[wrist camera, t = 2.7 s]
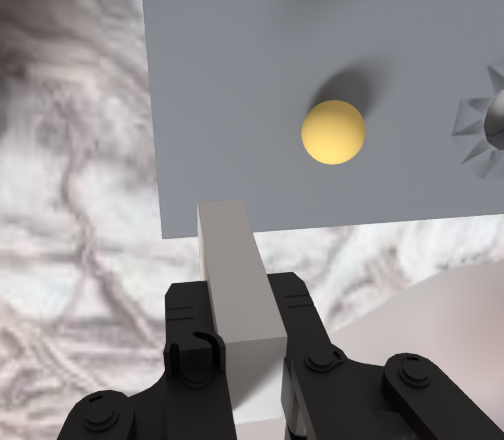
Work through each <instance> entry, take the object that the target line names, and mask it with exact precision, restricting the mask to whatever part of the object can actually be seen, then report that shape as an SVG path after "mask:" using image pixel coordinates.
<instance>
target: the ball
mask: <svg viewBox="0 0 504 440" xmlns="http://www.w3.org/2000/svg"><path fill="white" fill-rule="evenodd" d="M365 134H366V129H365V123H364V120H363V118H362V116H361V114H360V112H359V111H358V110H357V109H356V108H355V107H354V106H352V105H350V104H349V103H347V102H344V101H340V100H330V101H325V102H322V103H320V104H318V105H317V106H315V107H314V108H313V109H312V110H311V111H310V112H309V113H308V114H307V116H306V117H305V120H304V122H303V125H302V132H301V135H302V141H303V144H304V147H305V149H306V150H307V152H308V153H309V154H310V155H311V156H312V157H313V158H314V159H316V160H317V161H319V162H322V163H325V164H340V163H344V162H346V161H348V160H350V159H351V158H353V157H354V156H355V155H356V154H357V153H358V152H359V150H360V149H361V147H362V145H363V143H364V140H365Z"/></svg>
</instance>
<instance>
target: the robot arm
mask: <svg viewBox="0 0 504 440" xmlns="http://www.w3.org/2000/svg"><path fill="white" fill-rule="evenodd" d="M197 217H198V243H199V269H200V277H201V281H195V282H184V283H172V284H171V286H170V288H169V289H168V291H167V293H166V295H165V320H166V344H165V348H164V352H163V354H164V365H165V371H164V373H163V375H162V377H161V378H160V379H159V380H158V381H157V382H156V383H155V384H154V385H153V386H151V387H150V388H148V389H146V390H144V391H142V392H140V393H138V394H135V395H133V396H130V397H127V396H126V395H125V394H123V393H122V392H118V391H114V390H104V391H97V392H95V393H92V394H90V395H87V396H85V397H84V398H83V399H82V400H80V401H79V402H78V403H76V404H75V406H74V407H73V409H72V410H71V411H70V413H69V414H68V416H67V419H66V421H65V423H64V425H63V427H62V429H61V431H60V434H59V436H58V438H57V440H237V435H236V429H235V424H239V423H246V422H254V421H261V420H268V419H276V418H281V408H282V407H283V410H284V414H285V418H286V429H285V440H504V432H503V431H502V430H501V429H500V428H499V427H498V426H497V425H496V424H495V423H494V422H493V421H492V420H491V419H490V418H489V417H488V416H487V415H486V414H485V413H484V412H483V411H482V410H481V409H480V408H479V407H478V406H477V405H476V404H475V403H474V402H473V401H472V400H471V399H470V398H469V397H468V396H467V395H466V394H465V393H464V392H463V391H462V390H461V389H460V388H459V387H458V386H457V385H456V384H455V383H454V382H453V381H452V380H451V379H450V378H449V377H448V376H447V375H446V374H445V373H444V372H443V371H442V370H441V369H440V368H439V367H438V366H437V365H435V364H434V363H433V362H431V361H430V360H429V359H427V358H424V357H422V356H420V355H417V354H410V353H401V354H395V355H394V356H392V357H390V358H389V359H388V360H387V362H386V364H385V366H378V365H371V364H364V363H360V362H356V361H353V360H351V359H348V358H347V356H346V355H345V354H344V352H343V351H342V350H341V349H339V348H338V347H336V346H335V345H333V344H331V342H330V339H329V337H328V335H327V332H326V330H325V328H324V326H323V323H322V321H321V319H320V316H319V314H318V312H317V310H316V307H315V306H314V303H313V301H312V298H311V296H310V294H309V292H308V289H307V287H306V285H305V283H304V281H303V280H301V279H300V278H299V277H298V276H297V275H296V274H295V273H293V272H286V273H274V274H266V271H265V268H264V265H263V262H262V259H261V256H260V253H259V251H258V248H257V245H256V242H255V239H254V236H253V233H252V230H251V227H250V224H249V221H248V218H247V215H246V212H245V209H244V206H243V203H242V200H230V201H213V202H197Z"/></svg>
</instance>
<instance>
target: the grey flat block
mask: <svg viewBox="0 0 504 440" xmlns="http://www.w3.org/2000/svg"><path fill="white" fill-rule="evenodd" d="M143 10H144V23H145V35H146V47H147V59H148V71H149V83H150V95H151V107H152V119H153V132H154V144H155V156H156V168H157V180H158V192H159V204H160V216H161V229H162V239H171V238H185V237H198V217H197V202H213V201H230V200H242V203H243V206H244V209H245V212H246V215H247V218H248V221H249V224H250V227H251V230H252V232H266V231H279V230H292V229H306V228H319V227H333V226H346V225H360V224H373V223H387V222H400V221H414V220H427V219H440V218H454V217H467V216H481V215H494V214H504V130H503V131H501V132H499V133H497V134H495V135H494V136H486V135H485V131H484V127H483V125H484V122H485V118H486V114H487V111H488V107H489V106H490V104H491V103H492V102H493V101H494V99H495V98H496V97H497V96H498V94H499V93H500V92H501V91H502V89H504V0H143ZM330 100H340V101H344V102H347V103H349V104H350V105H352V106H354V107H355V108H356V109H357V110H358V111H359V112H360V114H361V116H362V118H363V120H364V123H365V129H366V134H365V140H364V143H363V145H362V147H361V149H360V150H359V152H358V153H357V154H356V155H355V156H354V157H353V158H351V159H350V160H348V161H346V162H344V163H340V164H325V163H322V162H319V161H317V160H316V159H314V158H313V157H312V156H311V155H310V154H309V153H308V152H307V150H306V149H305V147H304V144H303V141H302V135H301V132H302V125H303V122H304V120H305V117H306V116H307V114H308V113H309V112H310V111H311V110H312V109H313V108H314V107H315V106H317V105H318V104H320V103H322V102H325V101H330Z"/></svg>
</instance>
